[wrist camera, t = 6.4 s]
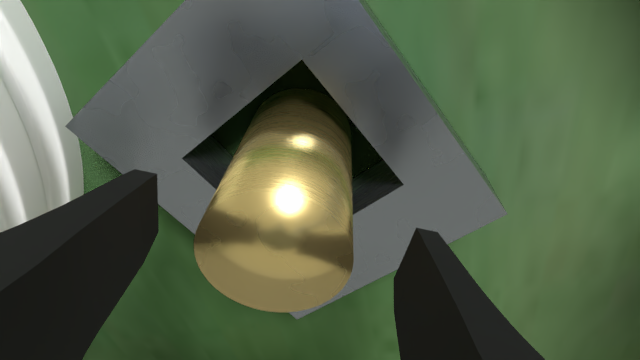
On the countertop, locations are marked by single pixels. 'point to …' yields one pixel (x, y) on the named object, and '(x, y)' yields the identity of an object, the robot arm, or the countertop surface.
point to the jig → (257, 75)
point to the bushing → (283, 208)
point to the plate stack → (32, 125)
